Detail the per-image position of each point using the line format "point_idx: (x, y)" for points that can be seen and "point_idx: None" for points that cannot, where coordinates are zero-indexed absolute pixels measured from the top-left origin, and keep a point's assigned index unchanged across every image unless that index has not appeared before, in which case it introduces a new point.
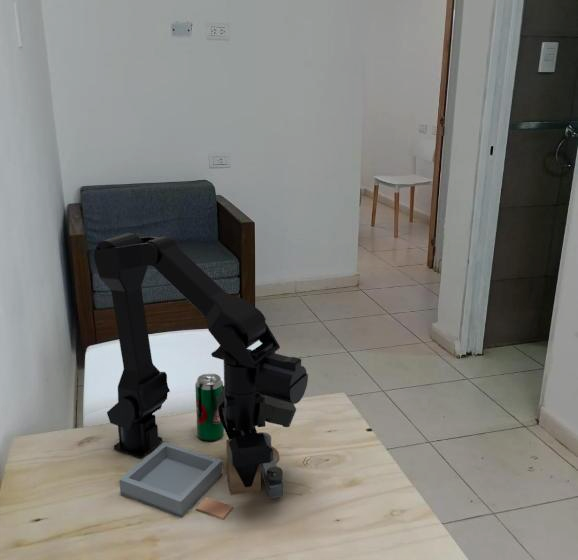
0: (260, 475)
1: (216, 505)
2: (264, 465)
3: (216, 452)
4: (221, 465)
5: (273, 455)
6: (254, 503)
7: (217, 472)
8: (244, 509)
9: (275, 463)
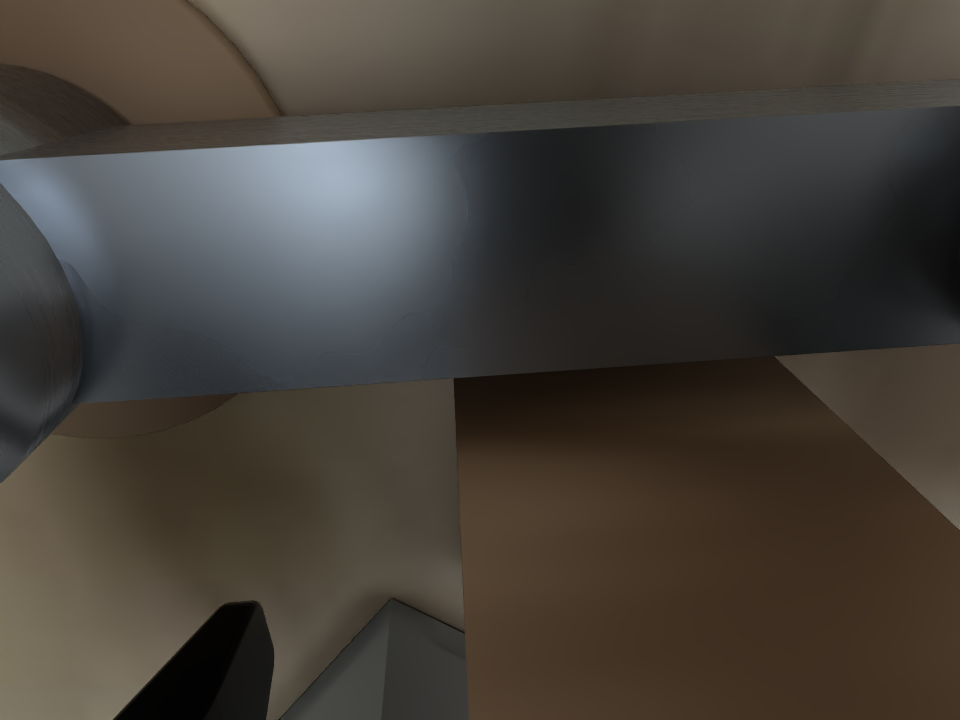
0: (816, 400)
1: None
2: (671, 342)
3: (20, 629)
4: (393, 705)
5: (42, 28)
6: (876, 380)
7: (457, 700)
8: (910, 466)
9: (672, 128)
